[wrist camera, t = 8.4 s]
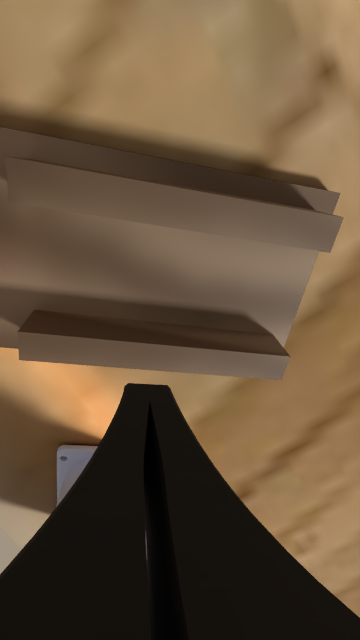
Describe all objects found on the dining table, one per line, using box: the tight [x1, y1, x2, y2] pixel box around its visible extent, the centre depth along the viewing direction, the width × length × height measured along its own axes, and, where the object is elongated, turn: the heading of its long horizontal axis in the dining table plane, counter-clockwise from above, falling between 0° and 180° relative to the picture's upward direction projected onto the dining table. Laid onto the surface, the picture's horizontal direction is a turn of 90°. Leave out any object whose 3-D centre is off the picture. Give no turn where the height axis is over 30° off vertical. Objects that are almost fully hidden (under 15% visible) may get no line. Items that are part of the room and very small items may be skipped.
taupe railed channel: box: [0, 127, 344, 380], centre depth 15 cm, size 14×26×4 cm, turn 80°
